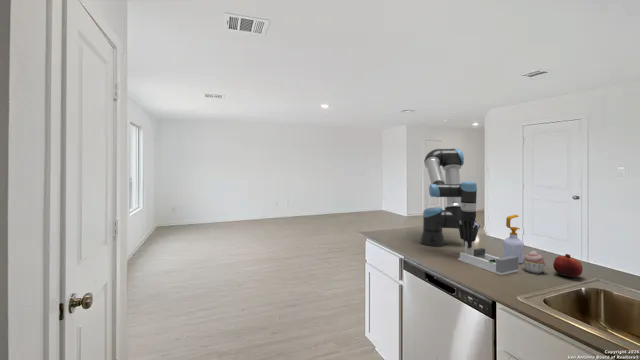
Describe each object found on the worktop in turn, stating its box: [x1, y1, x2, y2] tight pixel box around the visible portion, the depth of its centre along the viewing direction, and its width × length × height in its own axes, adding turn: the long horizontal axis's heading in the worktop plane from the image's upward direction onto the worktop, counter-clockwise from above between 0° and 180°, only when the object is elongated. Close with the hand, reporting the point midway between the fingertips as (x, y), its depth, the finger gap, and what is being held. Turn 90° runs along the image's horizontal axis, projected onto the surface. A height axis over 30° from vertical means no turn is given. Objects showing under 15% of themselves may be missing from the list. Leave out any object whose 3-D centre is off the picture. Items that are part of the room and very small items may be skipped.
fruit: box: [552, 253, 584, 278], centre depth 132 cm, size 11×10×10 cm
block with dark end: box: [473, 247, 499, 263], centre depth 145 cm, size 13×9×6 cm
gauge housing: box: [457, 249, 519, 276], centre depth 147 cm, size 24×12×7 cm, turn 23°
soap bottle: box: [502, 214, 525, 264], centre depth 153 cm, size 9×9×25 cm
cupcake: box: [523, 250, 547, 274], centre depth 138 cm, size 9×9×10 cm
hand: (467, 253), depth 158 cm, fingers closed
